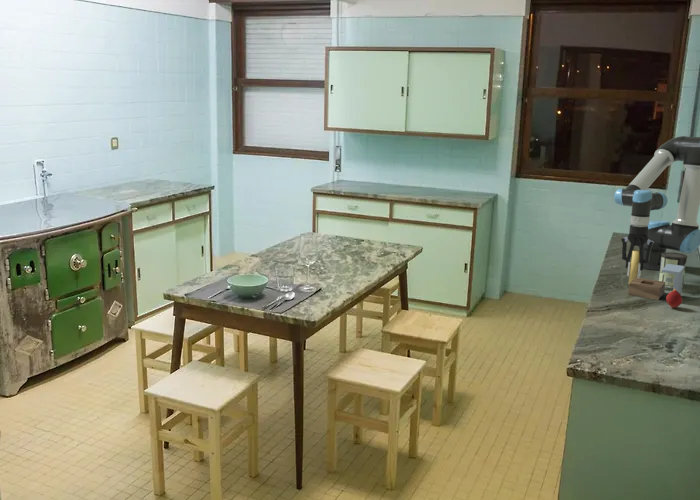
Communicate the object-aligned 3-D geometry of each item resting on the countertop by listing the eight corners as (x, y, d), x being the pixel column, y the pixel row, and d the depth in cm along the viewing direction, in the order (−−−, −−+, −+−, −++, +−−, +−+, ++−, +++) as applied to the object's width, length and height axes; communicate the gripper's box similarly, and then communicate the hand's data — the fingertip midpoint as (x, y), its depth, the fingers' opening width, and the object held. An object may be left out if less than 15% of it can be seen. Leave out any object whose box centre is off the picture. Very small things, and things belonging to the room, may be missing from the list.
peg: (629, 283, 299) (633, 249, 295) (637, 284, 297) (641, 250, 293) (627, 285, 296) (631, 250, 292) (635, 286, 294) (639, 251, 290)
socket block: (634, 288, 291) (635, 277, 290) (664, 293, 285) (665, 281, 284) (628, 294, 282) (629, 283, 281) (658, 299, 275) (659, 288, 274)
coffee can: (679, 282, 301) (683, 252, 297) (686, 289, 291) (690, 258, 287) (655, 281, 303) (659, 251, 299) (661, 287, 293) (664, 257, 289)
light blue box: (664, 293, 285) (667, 263, 282) (680, 295, 281) (684, 266, 278) (658, 299, 275) (662, 269, 272) (675, 302, 272) (679, 272, 268)
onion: (680, 306, 267) (682, 287, 265) (682, 310, 261) (684, 291, 259) (664, 305, 268) (666, 286, 267) (665, 309, 263) (668, 290, 261)
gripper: (617, 224, 292) (612, 275, 297) (657, 228, 282) (651, 281, 288) (621, 221, 298) (616, 271, 303) (661, 226, 288) (655, 277, 294)
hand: (633, 276), depth 296 cm, fingers closed on peg, 3 cm apart
